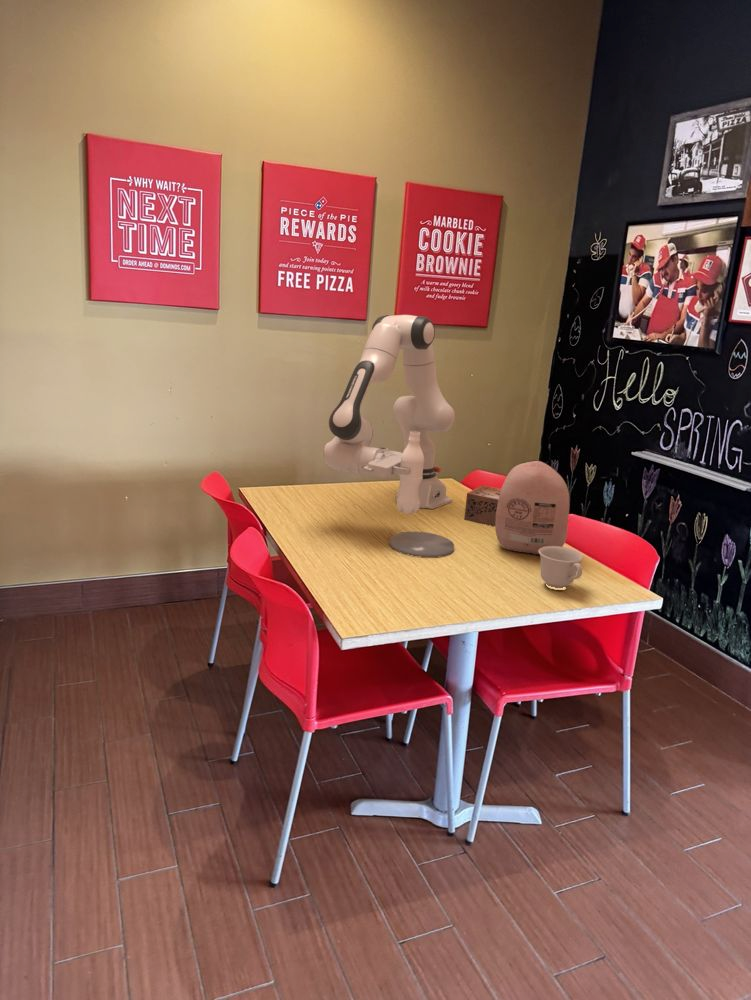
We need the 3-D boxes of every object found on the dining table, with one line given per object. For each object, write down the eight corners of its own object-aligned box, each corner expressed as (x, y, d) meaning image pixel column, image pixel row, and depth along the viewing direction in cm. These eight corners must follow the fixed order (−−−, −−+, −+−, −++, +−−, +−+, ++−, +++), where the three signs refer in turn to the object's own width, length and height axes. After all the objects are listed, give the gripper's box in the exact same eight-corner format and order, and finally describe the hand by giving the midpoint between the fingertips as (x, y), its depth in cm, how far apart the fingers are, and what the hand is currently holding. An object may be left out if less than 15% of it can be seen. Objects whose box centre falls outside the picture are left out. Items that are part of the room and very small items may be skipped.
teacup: (557, 602, 189) (563, 567, 186) (524, 580, 202) (529, 547, 199) (594, 598, 194) (600, 563, 191) (559, 577, 207) (565, 544, 204)
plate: (418, 531, 237) (419, 527, 237) (466, 549, 224) (467, 545, 224) (376, 542, 223) (376, 539, 223) (424, 562, 210) (425, 558, 210)
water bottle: (419, 509, 226) (427, 431, 219) (418, 516, 219) (426, 435, 212) (396, 507, 227) (403, 428, 220) (395, 513, 220) (402, 433, 213)
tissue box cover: (463, 520, 253) (467, 493, 251) (479, 511, 266) (482, 485, 263) (535, 536, 242) (539, 508, 239) (547, 526, 254) (551, 499, 251)
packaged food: (564, 548, 232) (578, 457, 223) (562, 569, 213) (577, 470, 205) (495, 537, 237) (507, 448, 228) (488, 556, 219) (500, 460, 210)
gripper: (359, 458, 214) (402, 465, 209) (385, 446, 232) (426, 453, 227) (358, 478, 215) (401, 486, 210) (384, 465, 234) (424, 472, 229)
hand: (414, 469), depth 219 cm, fingers closed on water bottle, 7 cm apart
